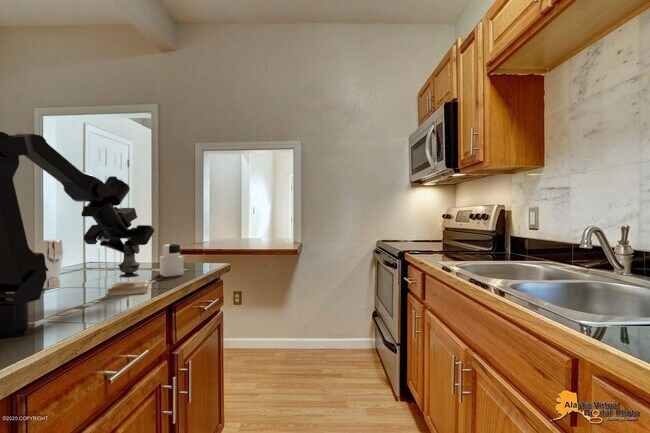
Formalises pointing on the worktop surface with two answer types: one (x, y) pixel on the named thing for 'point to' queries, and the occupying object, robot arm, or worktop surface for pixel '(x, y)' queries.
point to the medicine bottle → (171, 261)
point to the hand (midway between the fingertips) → (132, 252)
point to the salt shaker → (128, 263)
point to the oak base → (128, 288)
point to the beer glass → (51, 261)
